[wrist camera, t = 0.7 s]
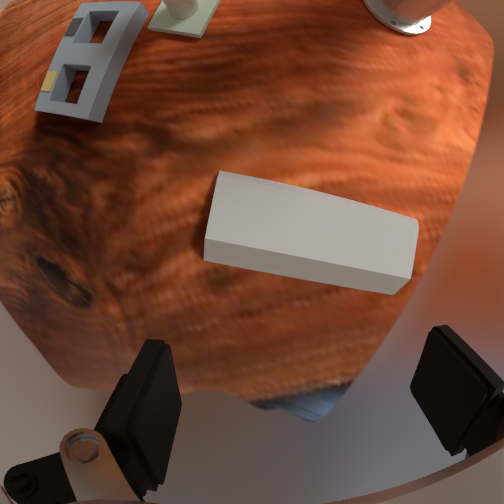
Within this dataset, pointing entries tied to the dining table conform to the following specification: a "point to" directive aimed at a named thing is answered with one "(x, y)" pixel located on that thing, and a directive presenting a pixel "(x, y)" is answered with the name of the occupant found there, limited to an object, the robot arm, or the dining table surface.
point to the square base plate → (184, 20)
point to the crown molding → (308, 235)
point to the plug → (181, 8)
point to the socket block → (91, 59)
